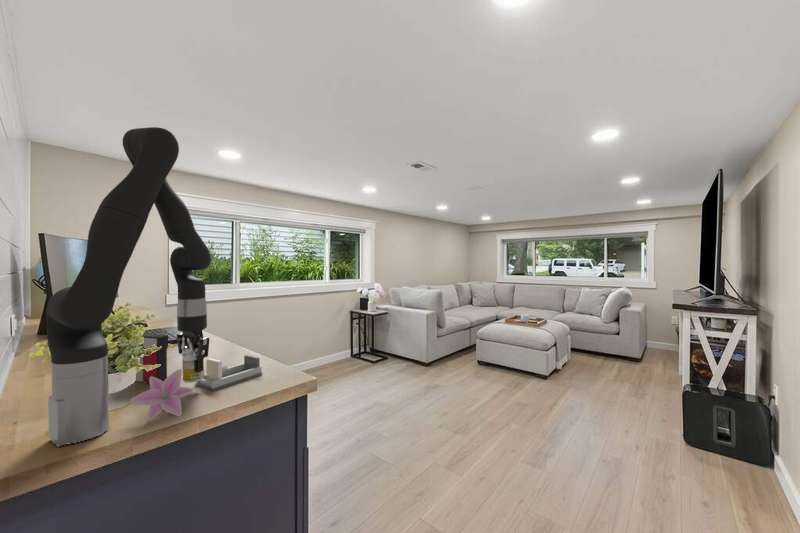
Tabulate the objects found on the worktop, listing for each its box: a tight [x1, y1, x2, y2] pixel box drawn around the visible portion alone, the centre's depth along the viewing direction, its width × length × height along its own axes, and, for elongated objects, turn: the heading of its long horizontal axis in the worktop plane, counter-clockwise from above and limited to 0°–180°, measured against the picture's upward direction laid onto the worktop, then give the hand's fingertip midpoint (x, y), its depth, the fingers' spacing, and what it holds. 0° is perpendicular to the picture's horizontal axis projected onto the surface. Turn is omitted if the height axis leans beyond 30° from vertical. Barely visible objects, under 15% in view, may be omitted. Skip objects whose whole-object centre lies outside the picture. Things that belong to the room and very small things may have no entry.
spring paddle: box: [205, 357, 228, 381], centre depth 108 cm, size 4×6×7 cm, turn 59°
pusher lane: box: [194, 354, 263, 392], centre depth 111 cm, size 17×10×6 cm, turn 149°
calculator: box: [136, 333, 169, 384], centre depth 110 cm, size 11×4×15 cm, turn 76°
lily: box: [129, 368, 194, 421], centre depth 88 cm, size 12×12×10 cm
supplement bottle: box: [181, 348, 205, 384], centre depth 101 cm, size 5×5×10 cm
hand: (193, 369), depth 101 cm, fingers closed on supplement bottle, 5 cm apart
